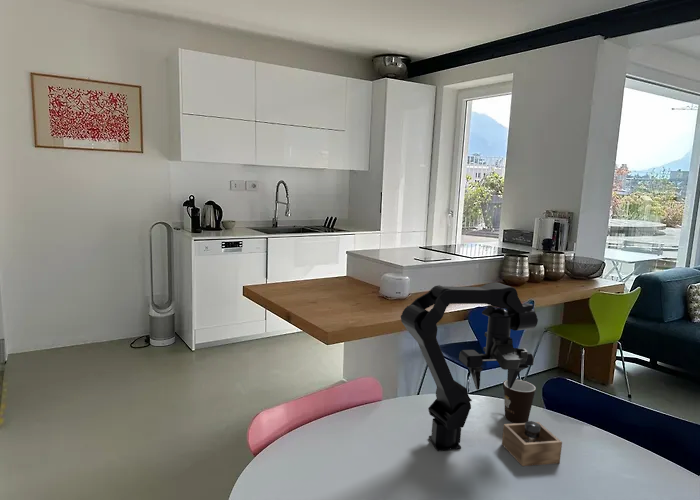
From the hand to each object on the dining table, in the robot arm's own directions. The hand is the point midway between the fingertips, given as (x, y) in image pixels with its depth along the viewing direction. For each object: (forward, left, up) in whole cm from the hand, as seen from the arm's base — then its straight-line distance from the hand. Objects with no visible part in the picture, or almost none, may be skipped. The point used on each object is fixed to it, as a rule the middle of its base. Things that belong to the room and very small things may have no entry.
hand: (493, 388), depth 132 cm
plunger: (+6, -10, -12) cm, 17 cm away
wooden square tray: (+6, -10, -13) cm, 17 cm away
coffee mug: (+13, +9, -13) cm, 21 cm away
